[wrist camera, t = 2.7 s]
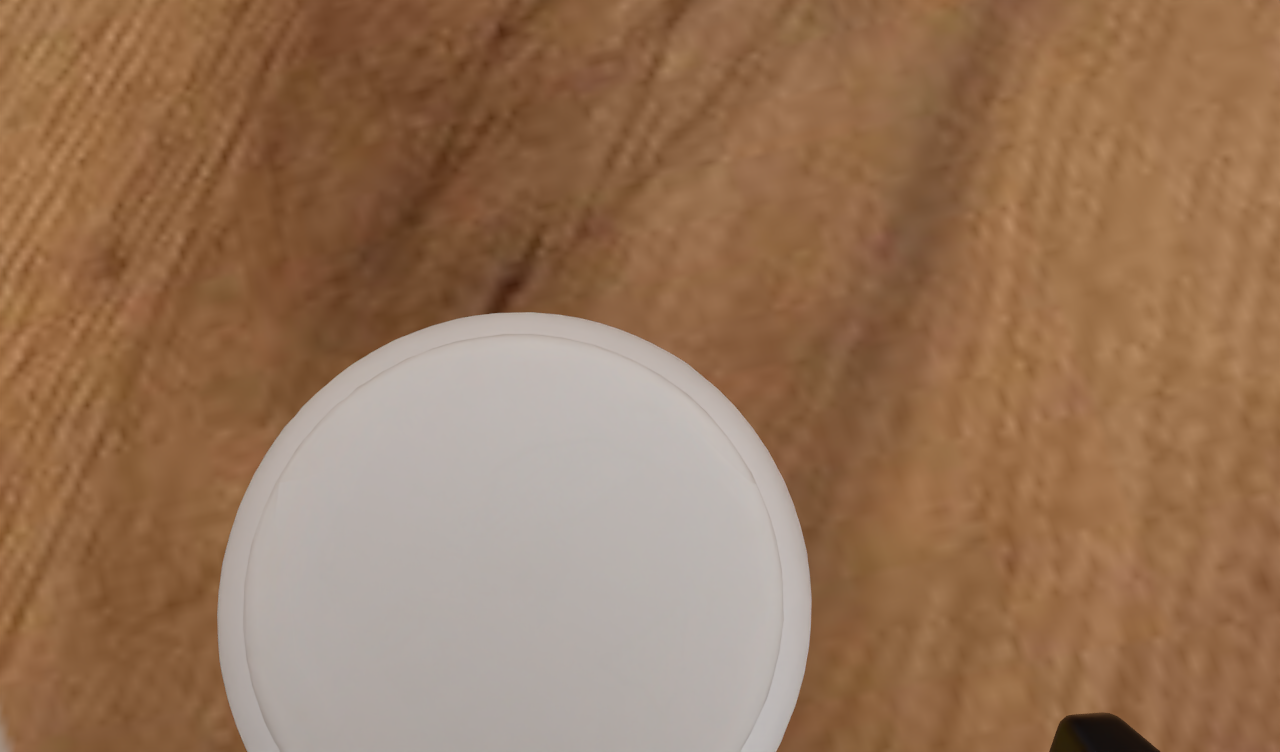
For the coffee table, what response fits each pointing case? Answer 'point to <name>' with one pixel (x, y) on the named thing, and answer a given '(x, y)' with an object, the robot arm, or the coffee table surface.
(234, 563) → the supplement bottle
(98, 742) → the coffee table surface
